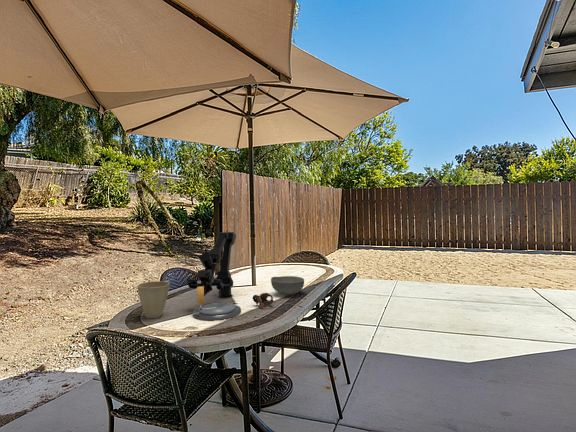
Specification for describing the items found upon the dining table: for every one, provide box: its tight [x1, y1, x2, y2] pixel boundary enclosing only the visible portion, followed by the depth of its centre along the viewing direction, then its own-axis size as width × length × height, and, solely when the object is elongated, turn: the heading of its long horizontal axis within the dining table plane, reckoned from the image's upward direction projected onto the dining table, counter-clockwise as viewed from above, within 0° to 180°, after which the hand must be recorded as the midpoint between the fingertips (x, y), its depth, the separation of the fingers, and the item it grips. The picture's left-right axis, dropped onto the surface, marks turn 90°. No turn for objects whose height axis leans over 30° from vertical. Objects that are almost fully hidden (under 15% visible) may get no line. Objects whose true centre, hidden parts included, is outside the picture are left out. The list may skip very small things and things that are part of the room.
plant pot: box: [136, 280, 170, 319], centre depth 175 cm, size 15×15×16 cm
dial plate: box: [192, 304, 242, 322], centre depth 178 cm, size 24×24×2 cm
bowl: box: [270, 275, 305, 296], centre depth 214 cm, size 20×20×10 cm
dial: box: [196, 286, 235, 316], centre depth 178 cm, size 19×18×12 cm
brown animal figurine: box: [252, 292, 275, 309], centre depth 189 cm, size 12×10×8 cm
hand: (200, 298), depth 177 cm, fingers closed
